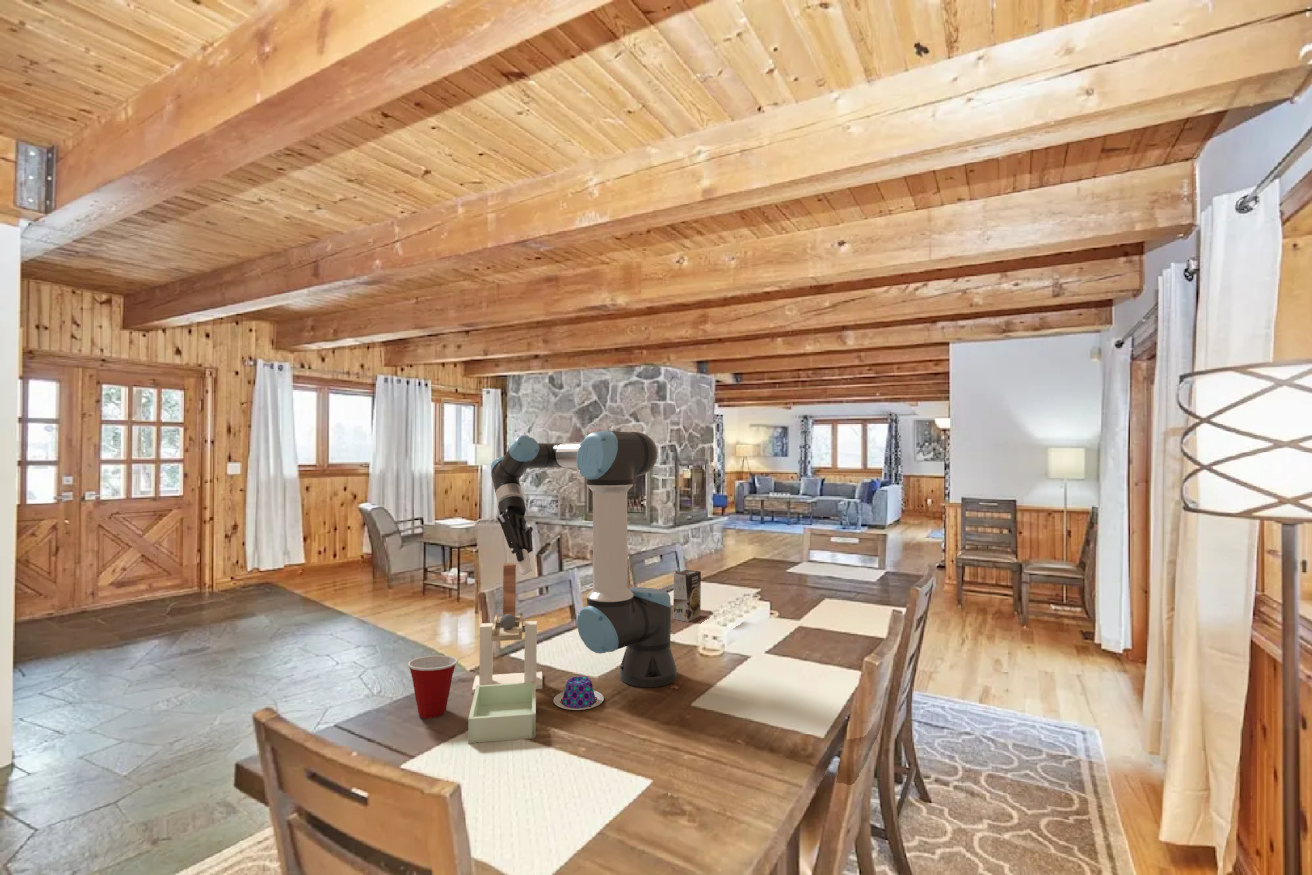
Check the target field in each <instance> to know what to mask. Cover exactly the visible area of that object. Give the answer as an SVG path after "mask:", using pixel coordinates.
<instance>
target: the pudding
mask: <svg viewBox="0 0 1312 875" xmlns="http://www.w3.org/2000/svg"><path fill="white" fill-rule="evenodd" d="M560 697H563V699H562V701H561V698H560ZM595 697H597V700H596V698H595ZM604 698H605V697H604V695H603V694H602V693H600V692H599V691H596V690H594V686H593V682H592V681H591V679H590V678H589V677H586V676H582V675H581V676H573V677H571V678H569V679H567V681H566V683H565V688H564V691H561V692H560V693H557V694H556V695H555V696H554V698H553V703H554V705H555V706H557V707H559V708H562V709H565V710H570V711H571V710H572V711H581V710H583V711H584V710H589V709H592V708H595V707H597V706H599V705H601V704H602V703H603V701H604V700H605V699H604ZM559 701H561V703H560V702H559ZM595 701H598V702H597V703H595ZM593 702H594V703H593ZM585 706H586V707H585ZM589 706H591V707H589Z"/></svg>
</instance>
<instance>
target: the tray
mask: <svg viewBox="0 0 1312 875" xmlns="http://www.w3.org/2000/svg"><path fill="white" fill-rule="evenodd" d="M536 691H537V689H536V682H525V683H510V684H494V685H479V686H476V689H475V693H473V698H472V702H471V707H470V710H469V716H468V717H467V718H468V719H467V722H468V725H467V744H477V743H476V742H479V743H489V742H488V741H492V742H500V741H503V742H504V741H515V740H524V739H525V740H526V739H535V738H536V735H537V733H536V731H537V730H536V727H537V726H536V725H537V724H536V723H537V722H536V720H537V712H536V710H537V706H536V704H537V697H536V696H537V692H536Z"/></svg>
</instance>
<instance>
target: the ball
mask: <svg viewBox="0 0 1312 875" xmlns="http://www.w3.org/2000/svg"><path fill="white" fill-rule="evenodd" d="M501 617H502V618H501V620H500V624H501V626H502V628H504V629H511V628H512V627H513V626H514V625H515V618H514V616H513V615H511V614H505V615H504V616H503V615H502V616H501Z"/></svg>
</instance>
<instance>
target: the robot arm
mask: <svg viewBox="0 0 1312 875" xmlns="http://www.w3.org/2000/svg"><path fill="white" fill-rule="evenodd" d="M505 453H506V454H504V456H500V457H497V458H496V459H494V460H493V461H492V462H491V465H490V473H491V474H490V476H491V480H492V484H493V488H494V492H495V496H496V502H497V505H498V506H497V508H498V512H499V516H497V518H496V519H497V521H498V523H499V524H500V526H501V529H502V532H503V535H504V537H505V541H506V543H507V545H508V548H509V549H510V550H511V549H512V550H511V554H512V555H514V554H515V556H516V560H517V564H518V568H519V573H520V575H522V576H526V575H527V574H529V573H531V571H532V564H531V559H530V556H529V554H530V553H531V552H533V551H534V550H533V548H534V547H533V530H534V528H533V527H532V526H528V525H527V521H526V519H525V515H526V511H527V508H526V503H525V501H524V498H525V497H524V495H523V490H522V486H521V482H520V479H521V477H522V476H523V475H524V474H525V472H526V471H527V470H528V469H547V468H548V469H550V468H551V469H553V468H554V469H557V468H560V469H562V468H563V469H565V468H572V469H574V468H577V469H578V470H579V473H580V475H581V476H582V477H583V478H585V479H586V487H587V488H588V489H590V490H591V492H592V589H591V590H590V591H589V592H588V593H587V594H586V606H584V607H583V608H581V609H580V611H579V612H578V615H577V618H576V625H577V626H576V627H577V631H578V634H579V637H580V639H581V641H582V642H583V644H584V646H585V647H586V648H587V649H589V651H591V652H593V653H595V654H607V653H614V652H616V651H617V650H619V649H623V648H625V651H624V654H623V657H622V659H621V663H620V667H619V679H620V681H622V682H623V683H625V684H626V685H629V686H631V687H639V688H657V687H658V688H659V687H663V686H667V685H670V684H672V683H673V682H675V681H676V679H677V678H678V677H677V675H678V669H677V665H676V663H675V659H674V655H673V651H672V649H671V632H672V631H671V628H672V627H671V626H672V625H671V624H672V623H671V622H672V621H671V619H672V606H671V604H672V603H671V595H670V594H669V592H668V591H665V590H663V589H660V588H659V589H658V588H653V587H645V586H644V587H643V586H634V587H628V492H629V490H631V489H632V488H633V486H634V477H639V476H644V475H645V474H648V473H649V472H650V471H651V470H652V469H653V468H654V467H655V465H656V463H657V460H658V448H657V445H656V443H655V441H654V440H653V439H652V438H651V437H650V436H648V435H647V434H645V433H643V432H639V431H619V430H618V431H616V430H602V431H601V430H600V431H593V432H591V433H589V434H588V435H586V436H585V437H584V439H583V440H582V441H579V442H557V443H556V442H552V443H551V442H547V443H544V442H543V443H542V442H539V443H538V441H537V440H536V439H534V438H533V437H531V436H530V437H529V436H528V435H519V436H518V437H517V438H515V439H514V441H513V442H512V443H511V445H510V446H509V448H508V450H507V452H505Z"/></svg>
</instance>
